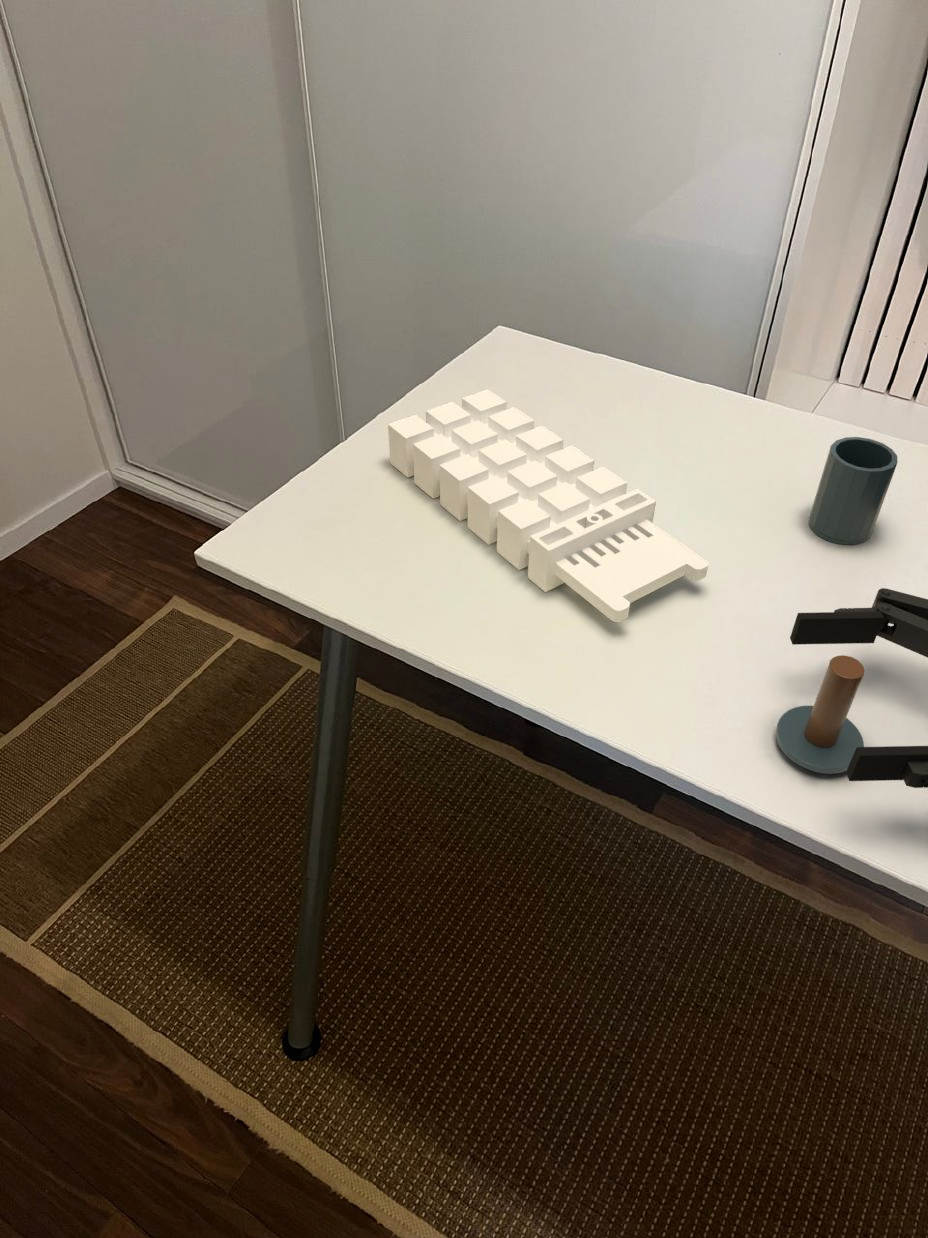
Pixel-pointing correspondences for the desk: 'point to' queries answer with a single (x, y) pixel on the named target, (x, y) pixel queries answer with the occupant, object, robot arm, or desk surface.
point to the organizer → (541, 502)
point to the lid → (825, 722)
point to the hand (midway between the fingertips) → (821, 691)
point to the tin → (852, 490)
